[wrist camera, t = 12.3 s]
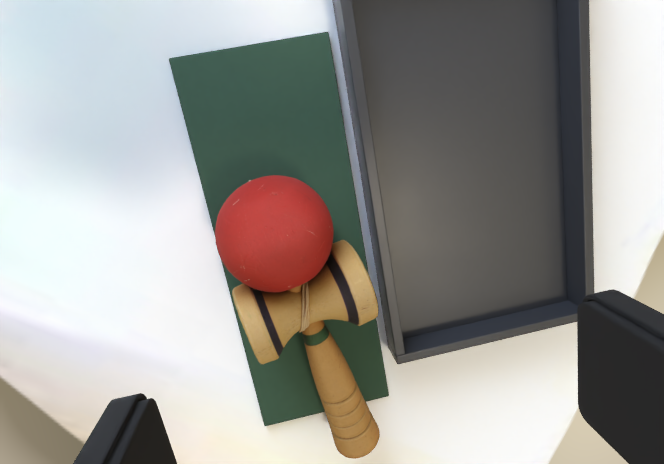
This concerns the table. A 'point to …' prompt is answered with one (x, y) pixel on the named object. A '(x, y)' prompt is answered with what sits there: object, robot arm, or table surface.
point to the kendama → (299, 291)
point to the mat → (286, 160)
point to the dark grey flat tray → (472, 164)
